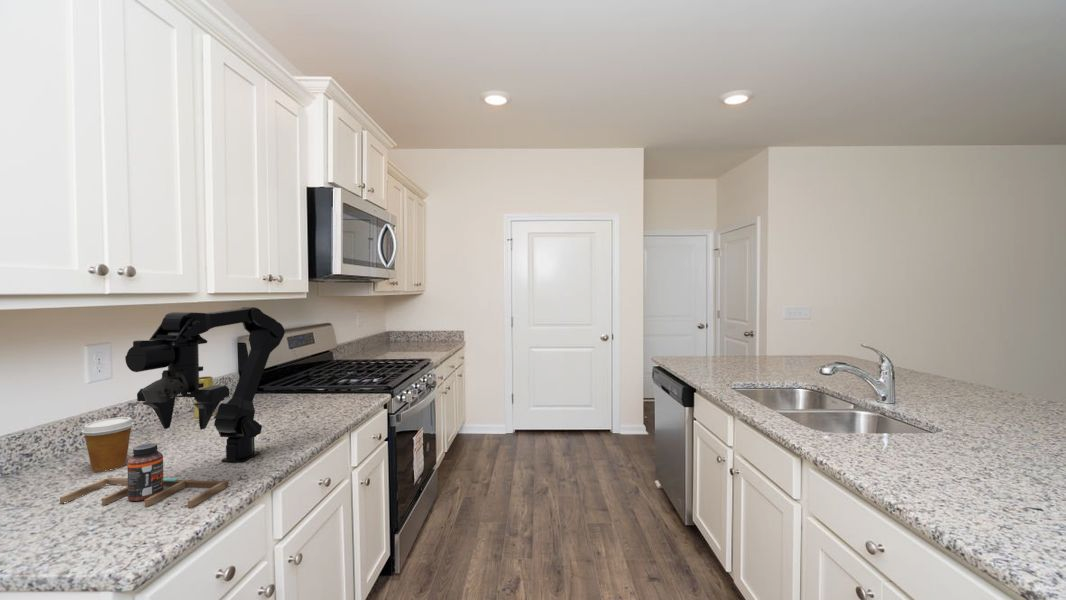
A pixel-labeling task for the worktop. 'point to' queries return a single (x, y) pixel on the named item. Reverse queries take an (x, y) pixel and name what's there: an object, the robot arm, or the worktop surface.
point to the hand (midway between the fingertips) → (184, 428)
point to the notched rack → (167, 482)
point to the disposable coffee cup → (108, 442)
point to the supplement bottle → (145, 472)
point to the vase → (207, 383)
